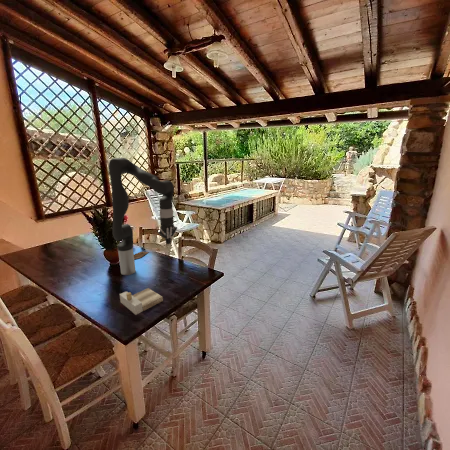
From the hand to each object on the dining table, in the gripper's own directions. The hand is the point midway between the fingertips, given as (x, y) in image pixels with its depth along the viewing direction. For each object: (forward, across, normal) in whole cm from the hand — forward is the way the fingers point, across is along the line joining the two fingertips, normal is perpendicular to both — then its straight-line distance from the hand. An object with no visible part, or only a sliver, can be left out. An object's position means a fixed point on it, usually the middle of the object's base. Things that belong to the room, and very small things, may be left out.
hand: (168, 243), depth 150 cm
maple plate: (+26, +21, +8) cm, 35 cm away
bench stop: (+26, +30, +7) cm, 40 cm away
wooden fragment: (+27, -2, -52) cm, 58 cm away
